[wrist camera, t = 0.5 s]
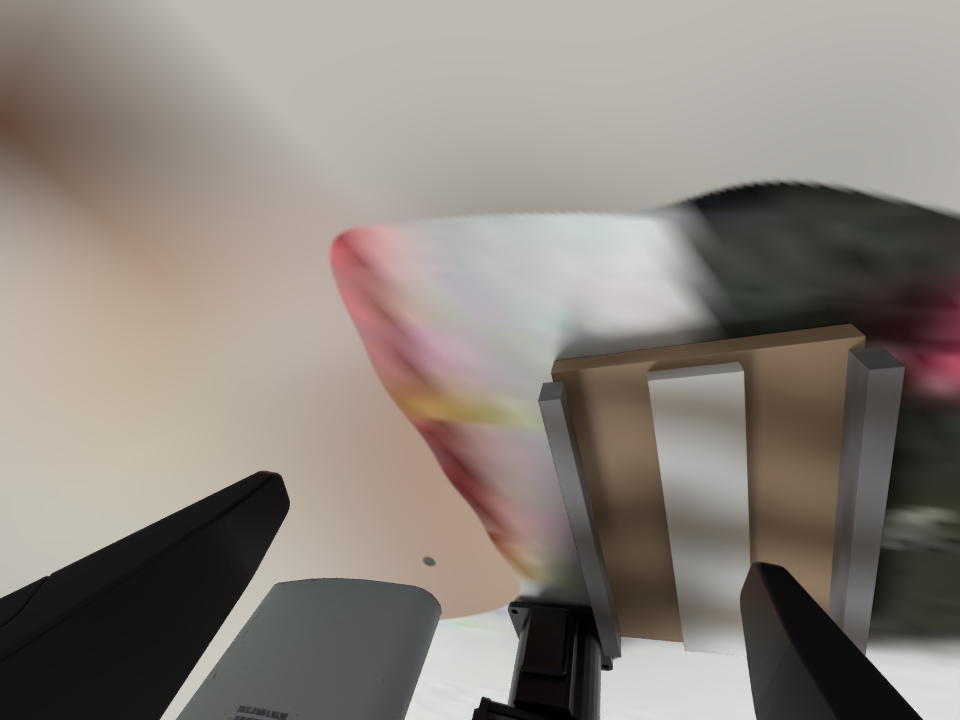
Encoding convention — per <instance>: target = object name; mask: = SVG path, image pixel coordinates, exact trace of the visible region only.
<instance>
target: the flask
mask: <svg viewBox="0 0 960 720" xmlns="http://www.w3.org/2000/svg"><path fill="white" fill-rule="evenodd" d="M440 615H441V607H440V604H439V602H438V601H437V599H436V598H435V597H434V596H433V595H432V594H431V593H429V592H428V591H426V590H424V589H423V588H419V587H416V586H411V585H403V584H396V583H388V582H380V581H372V580H363V579H343V578H322V579H305V580H297V581H289V582H281V583H277V584H275V585H274V586H273V587H272V589H271V590H270V591H269V593H268V594H267V596H266V597H265V598H264V600H263V601H262V602H261V604H260V605H259V606H258V608H257V609H256V611H255V612H254V613H253V615H252V616H251V617H250V619H249V620H248V622H247V623H246V624H245V626H244V627H243V628H242V630H241V631H240V632H239V634H238V635H237V637H236V638H235V639H234V641H233V642H232V643H231V645H230V646H229V648H228V649H227V650H226V652H225V653H224V655H223V656H222V657H221V659H220V660H219V661H218V663H217V664H216V666H215V667H214V668H213V669H212V671H211V672H210V674H209V675H208V676H207V678H206V679H205V680H204V682H203V683H202V685H201V686H200V688H199V689H198V690H197V691H196V693H195V694H194V696H193V697H192V698H191V700H190V701H189V702H188V704H187V705H186V707H185V708H184V709H183V711H182V712H181V713H180V715H179V716H178V717H177V719H176V720H404V719H405V716H406V713H407V710H408V707H409V704H410V701H411V699H412V696H413V693H414V690H415V687H416V684H417V681H418V678H419V676H420V673H421V670H422V667H423V664H424V661H425V658H426V656H427V653H428V650H429V647H430V644H431V641H432V638H433V635H434V633H435V630H436V627H437V624H438V621H439V618H440Z"/></svg>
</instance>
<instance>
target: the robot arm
mask: <svg viewBox="0 0 960 720" xmlns="http://www.w3.org/2000/svg"><path fill="white" fill-rule="evenodd" d="M289 506H290V500H289V497H288V494H287V491H286V487H285V485H284V481H283V478H282V476H281V475H280V474H278V473H274V472H269V471H259V472H257V473H255V474H253V475H251V476H249V477H247V478H245V479H242V480H241V481H238V482H236V483H234V484H232V485H230V486H228V487H226V488H224V489H222V490H220V491H218V492H216V493H214V494H212V495H210V496H208V497H206V498H204V499H202V500H200V501H198V502H196V503H194V504H192V505H190V506H188V507H186V508H184V509H182V510H180V511H178V512H175V513H173V514H171V515H169V516H167V517H165V518H163V519H161V520H159V521H157V522H155V523H153V524H151V525H149V526H147V527H145V528H143V529H141V530H139V531H137V532H135V533H133V534H131V535H129V536H127V537H125V538H123V539H121V540H119V541H117V542H115V543H112V544H110V545H109V546H106V547H104V548H102V549H101V550H98V551H96V552H94V553H92V554H90V555H88V556H86V557H84V558H82V559H80V560H78V561H76V562H74V563H72V564H70V565H68V566H66V567H64V568H62V569H60V570H58V571H56V572H54V573H52V574H51V575H50V576H45V577H43V578H41V579H39V580H37V581H35V582H33V583H31V584H29V585H27V586H25V587H23V588H21V589H19V590H17V591H15V592H13V593H11V594H9V595H7V596H4V597H2V598H0V720H160V718H161V717H162V715H163V714H164V712H165V711H166V709H167V708H168V706H169V705H170V703H171V702H172V700H173V699H174V697H175V695H176V694H177V692H178V691H179V689H180V688H181V686H182V685H183V683H184V682H185V680H186V678H187V677H188V675H189V674H190V673H191V671H192V670H193V668H194V667H195V665H196V663H197V662H198V660H199V659H200V658H201V656H202V654H203V653H204V651H205V650H206V648H207V647H208V645H209V644H210V642H211V641H212V639H213V638H214V636H215V635H216V633H217V632H218V630H219V629H220V627H221V626H222V624H223V622H224V621H225V619H226V618H227V616H228V615H229V613H230V612H231V610H232V609H233V607H234V606H235V604H236V603H237V601H238V600H239V598H240V597H241V595H242V594H243V592H244V591H245V589H246V587H247V586H248V584H249V582H250V581H251V579H252V578H253V576H254V574H255V572H256V571H257V569H258V567H259V565H260V563H261V561H262V560H263V558H264V556H265V554H266V552H267V550H268V548H269V547H270V545H271V543H272V541H273V539H274V537H275V535H276V533H277V532H278V530H279V528H280V526H281V524H282V522H283V520H284V519H285V517H286V515H287V513H288V510H289ZM740 611H741V618H742V625H743V632H744V639H745V647H746V654H747V661H748V668H749V676H750V683H751V690H752V697H753V703H754V709H755V714H756V719H757V720H923V719H922V718H921V717H920V716H919V715H918V714H917V712H916V711H915V710H914V709H913V708H912V707H911V706H910V705H909V704H908V703H907V701H906V700H905V699H904V698H903V697H902V696H901V695H900V694H899V693H898V691H897V690H896V689H895V688H894V687H893V686H892V685H891V684H890V683H889V682H888V680H887V679H886V678H885V677H884V676H883V675H882V674H881V673H880V672H879V671H878V669H877V668H876V667H875V666H874V665H873V664H872V663H871V662H870V661H869V660H868V658H867V657H866V656H865V655H864V654H863V653H862V652H861V651H860V650H859V648H858V647H857V646H856V645H855V644H854V643H853V642H852V641H851V640H850V639H849V637H848V636H847V635H846V634H845V633H844V632H843V631H842V630H841V629H840V628H839V626H838V625H837V624H836V623H835V622H834V621H833V620H832V619H831V618H830V616H829V615H828V614H827V613H826V612H825V611H824V610H823V609H822V608H821V607H820V605H819V604H818V603H817V602H816V601H815V600H814V599H813V598H812V597H811V596H810V594H809V593H808V592H807V591H806V590H805V589H804V588H803V587H802V586H801V585H800V583H799V582H798V581H797V580H796V579H795V578H794V577H793V576H792V575H791V573H790V572H789V571H788V570H787V569H785V568H784V567H782V566H780V565H777V564H771V563H766V562H760V561H755V562H754V563H752V565H751V567H750V569H749V572H748V574H747V577H746V579H745V582H744V585H743V587H742V590H741V593H740ZM508 612H509V615H510V617H511V620H512V623H513V625H514V628H515V630H516V633H517V636H518V638H519V644H518V649H517V655H516V660H515V666H514V672H513V677H512V683H511V688H510V694H509V699H508V705H506V704H502V703H498V702H494V701H491V699H490V698H486V697H482V699H481V702H480V705H479V708H476V709H474V714H473V718H472V720H600V692H601V670H605V671H610V670H612V669H613V660H612V656H604V652H603V648H602V644H601V641H600V637H599V633H598V629H597V625H596V621H595V618H594V614H593V610H592V608H591V607H577V606H564V605H550V604H537V603H523V602H511V603H510V604H509V607H508Z"/></svg>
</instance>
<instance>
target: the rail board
mask: <svg viewBox="0 0 960 720" xmlns="http://www.w3.org/2000/svg"><path fill="white" fill-rule="evenodd" d="M865 338H866V336H865V335H864V334H862V333H861V332H860V331H859V330H858V329H857V328H855V327H854V326H853V325H852V324H844V325H836V326H828V327H820V328H812V329H804V330H796V331H788V332H781V333H773V334H765V335H757V336H749V337H741V338H733V339H725V340H717V341H709V342H701V343H694V344H686V345H678V346H670V347H662V348H654V349H646V350H638V351H630V352H622V353H615V354H607V355H599V356H591V357H583V358H575V359H567V360H559V361H554V364H553V368H552V372H551V374H552V379H553V382H550V383H543V385H542V389H541V393H540V397H539V400H538V402H539V406H540V410H541V414H542V418H543V421H544V425H545V429H546V433H547V437H548V441H549V445H550V448H551V452H552V456H553V460H554V464H555V468H556V471H557V475H558V479H559V483H560V487H561V491H562V495H563V498H564V502H565V506H566V510H567V514H568V518H569V521H570V525H571V529H572V533H573V537H574V541H575V544H576V548H577V552H578V556H579V560H580V564H581V568H582V571H583V575H584V579H585V583H586V587H587V591H588V594H589V598H590V602H591V606H592V610H593V614H594V618H595V621H596V625H597V629H598V633H599V637H600V641H601V644H602V648H603V652H604V656H612V657H621V636H622V637H632V638H643V639H653V640H664V641H675V642H684V649H685V651H692V652H702V653H712V654H722V655H732V656H742V657H747V654H746V647H745V639H744V632H743V625H742V618H741V611H740V593H741V590H742V587H743V585H744V582H745V579H746V577H747V574H748V572H749V569H750V567H751V565H752V563H754V562H755V561H760V562H766V563H771V564H777V565H780V566H782V567H784V568H785V569H787V570H788V571H789V572H790V573H791V575H792V576H793V577H794V578H795V579H796V580H797V581H798V582H799V583H800V585H801V586H802V587H803V588H804V589H805V590H806V591H807V592H808V593H809V594H810V596H811V597H812V598H813V599H814V600H815V601H816V602H817V603H818V604H819V605H820V607H821V608H822V609H823V610H824V611H825V612H826V613H827V614H828V615H829V616H830V618H831V619H832V620H833V621H834V622H835V623H836V624H837V625H838V626H839V628H840V629H841V630H842V631H843V632H844V633H845V634H846V635H847V636H848V637H849V639H850V640H851V641H852V642H853V643H854V644H855V645H856V646H857V647H858V648H859V650H860V651H861V652H862V653H863V654H864V655H866V647H867V640H868V633H869V626H870V618H871V611H872V604H873V597H874V589H875V582H876V575H877V568H878V560H879V553H880V546H881V539H882V531H883V524H884V517H885V509H886V502H887V495H888V488H889V480H890V473H891V466H892V459H893V451H894V444H895V437H896V430H897V422H898V415H899V408H900V401H901V393H902V386H903V379H904V372H905V366H904V365H903V364H901V363H900V362H899V361H898V360H897V359H896V358H894V357H893V356H892V355H891V354H890V353H888V352H887V351H886V350H885V349H884V348H883V347H881V346H879V347H870V348H865Z"/></svg>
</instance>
